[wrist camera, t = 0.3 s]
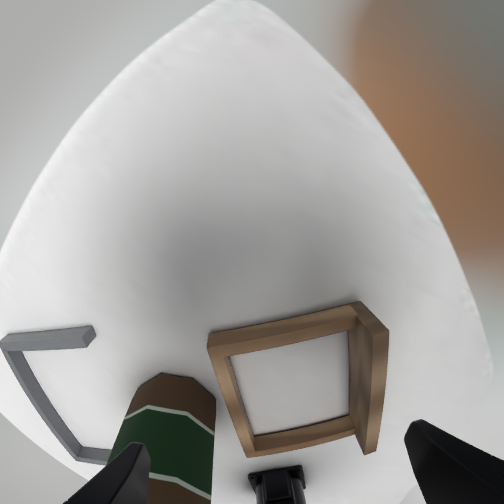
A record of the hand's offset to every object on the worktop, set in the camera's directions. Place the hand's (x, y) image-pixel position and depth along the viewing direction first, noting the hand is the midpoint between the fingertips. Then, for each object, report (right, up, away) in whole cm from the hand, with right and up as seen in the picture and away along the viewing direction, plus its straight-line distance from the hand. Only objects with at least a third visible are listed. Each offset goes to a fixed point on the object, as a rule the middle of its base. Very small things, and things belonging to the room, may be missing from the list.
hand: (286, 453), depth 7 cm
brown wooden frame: (+3, -5, +16) cm, 17 cm away
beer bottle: (-8, -7, +16) cm, 19 cm away
